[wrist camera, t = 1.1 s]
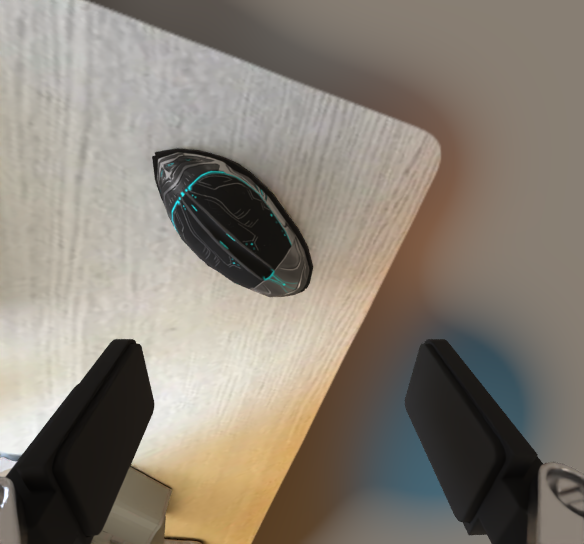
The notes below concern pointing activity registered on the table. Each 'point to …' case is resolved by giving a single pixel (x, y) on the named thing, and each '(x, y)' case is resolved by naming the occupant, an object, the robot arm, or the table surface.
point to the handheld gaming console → (180, 542)
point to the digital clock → (137, 512)
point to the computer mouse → (232, 222)
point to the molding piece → (5, 466)
